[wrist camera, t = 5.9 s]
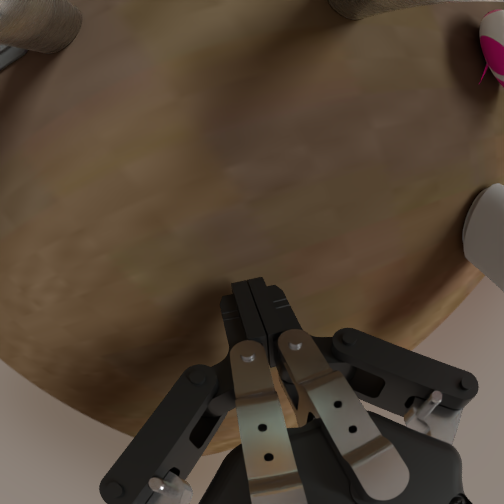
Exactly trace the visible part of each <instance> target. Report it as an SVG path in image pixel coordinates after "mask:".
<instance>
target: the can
mask: <svg viewBox="0 0 504 504" xmlns="http://www.w3.org/2000/svg"><path fill="white" fill-rule="evenodd" d="M462 240H463V244H464V254H465V258H466V259H467V260H468V261H470V262H471V263H472V264H473V265H474V266H475V267H477V268H478V269H479V270H480V271H481V272H482V273H484V274H485V275H486V276H487V277H488V278H489V279H490V280H491V281H493V282H494V283H495V284H496V285H497V286H498V287H499V288H500V289H501V290H502V291H504V186H503V185H501V184H499V183H497V184H493V185H492V186H490V187H489V188H486V189H484V190H483V191H482V192H480V193H479V194H478V196H477V197H476V198H475V200H474V201H473V203H472V205H471V207H470V209H469V211H468V214H467V217H466V219H465V223H464V227H463V236H462Z"/></svg>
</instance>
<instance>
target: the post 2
mask: <svg viewBox="0 0 504 504" xmlns="http://www.w3.org/2000/svg"><path fill="white" fill-rule="evenodd" d="M467 1H497V2H504V0H328V2H329V4H330V5H331V6H332V8H333V9H334V10H335V11H336V12H337V13H339V14H340V15H342V16H343V17H346V18H348V19H352V20H359V19H362V18H366V17H370V16H374V15H378V14H382V13H386V12H390V11H395V10H400V9H405V8H411V7H417V6H424V5H431V4H439V3H450V2H467Z"/></svg>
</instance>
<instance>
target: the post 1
mask: <svg viewBox="0 0 504 504" xmlns="http://www.w3.org/2000/svg"><path fill="white" fill-rule="evenodd" d="M81 24H82V14H81V12H80V10H79V9H78V8H77V7H76V6H74V5H73V4H72V3H70V2H69V1H68V0H0V45H5V46H11V47H17V48H22V49H27V50H32V51H37V52H41V53H46V54H51V53H55V52H58V51H60V50H62V49H63V48H65V47H66V46H67V45H69V44H70V43H71V42H72V41H73V39H74V38H75V37H76V35H77V34H78V32H79V30H80V27H81Z"/></svg>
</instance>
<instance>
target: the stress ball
mask: <svg viewBox="0 0 504 504" xmlns="http://www.w3.org/2000/svg"><path fill="white" fill-rule="evenodd" d="M479 37H480V44H481V48H482V52H483V55H484V57H485V60H486V62H487V64H486V67H485V69H484V72H483V75H482V78H483V76H484V74H485V72H486V71H487V69H488V67H489V68H490V70H491V72H492V73H493V75H494V76H495V78H496V79H497V80H498V82H499V83H500V84H501V85H502V86H503V87H504V10H493V11H490V12H488V13H487V14H486V15H485V16H484V18H483V19H482V22H481V24H480V31H479ZM482 78H481V80H482ZM481 80H480V82H481ZM479 84H480V83H479Z"/></svg>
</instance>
